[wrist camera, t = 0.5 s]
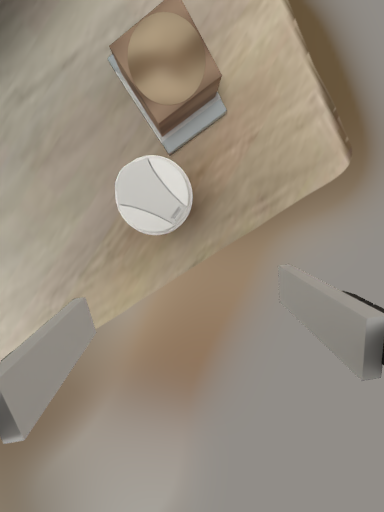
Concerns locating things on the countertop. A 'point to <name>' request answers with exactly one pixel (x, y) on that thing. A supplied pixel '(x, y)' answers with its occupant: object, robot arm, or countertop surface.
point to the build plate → (185, 128)
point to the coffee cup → (153, 194)
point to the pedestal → (167, 65)
